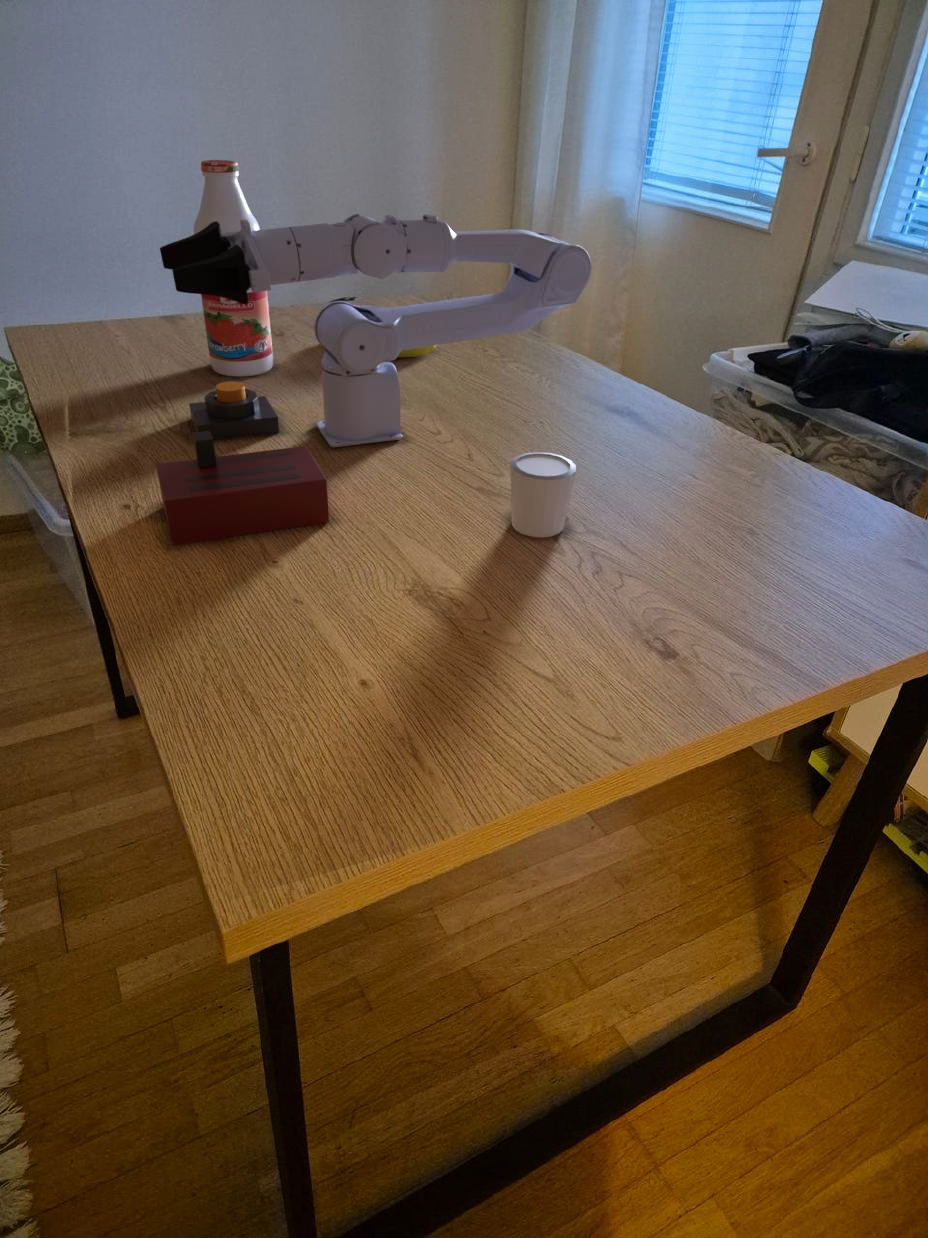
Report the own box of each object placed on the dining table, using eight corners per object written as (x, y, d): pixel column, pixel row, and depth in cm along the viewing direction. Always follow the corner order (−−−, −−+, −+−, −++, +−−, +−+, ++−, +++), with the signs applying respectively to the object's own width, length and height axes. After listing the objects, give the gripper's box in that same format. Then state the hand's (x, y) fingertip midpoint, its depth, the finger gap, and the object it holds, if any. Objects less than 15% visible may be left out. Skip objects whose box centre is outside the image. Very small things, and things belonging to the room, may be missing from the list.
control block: (267, 411, 115) (264, 382, 113) (279, 433, 109) (276, 403, 107) (191, 419, 112) (187, 389, 110) (199, 442, 106) (195, 411, 104)
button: (243, 393, 110) (241, 380, 109) (248, 402, 108) (246, 389, 107) (215, 396, 109) (213, 382, 108) (219, 405, 107) (217, 392, 106)
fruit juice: (280, 359, 133) (262, 158, 117) (265, 379, 126) (244, 167, 110) (221, 356, 134) (195, 155, 118) (203, 376, 126) (173, 164, 110)
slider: (213, 457, 90) (209, 430, 89) (216, 466, 88) (213, 438, 87) (196, 459, 90) (192, 432, 88) (199, 468, 88) (195, 441, 86)
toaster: (309, 486, 97) (306, 445, 94) (329, 522, 90) (326, 478, 87) (163, 506, 91) (155, 463, 89) (173, 545, 85) (164, 500, 82)
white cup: (526, 545, 87) (532, 483, 83) (494, 517, 92) (498, 457, 88) (581, 532, 90) (589, 472, 86) (547, 505, 95) (553, 446, 91)
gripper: (270, 199, 97) (149, 210, 93) (307, 235, 87) (172, 250, 83) (278, 262, 102) (162, 276, 97) (313, 304, 92) (186, 321, 88)
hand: (168, 268), depth 91 cm, fingers open, 7 cm apart
